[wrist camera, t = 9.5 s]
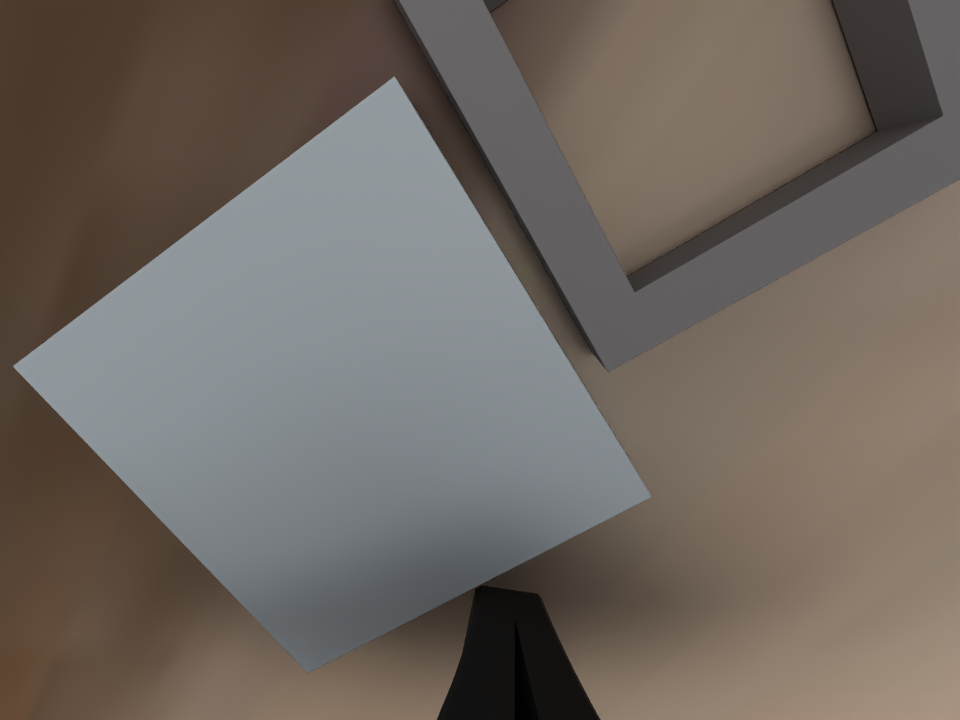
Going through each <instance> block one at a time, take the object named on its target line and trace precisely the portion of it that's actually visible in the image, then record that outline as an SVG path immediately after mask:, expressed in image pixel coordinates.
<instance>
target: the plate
mask: <svg viewBox="0 0 960 720" xmlns="http://www.w3.org/2000/svg"><path fill="white" fill-rule="evenodd" d="M13 367H14V368H15V369H16V370H17V371H18V372H19V373H20V374H21V375H22V376H23V377H24V378H25V379H26V381H27V382H28V383H29V384H30V385H31V386H32V387H33V388H34V389H35V390H36V391H37V392H38V393H39V394H40V395H41V396H42V397H43V398H44V399H45V400H46V401H47V402H48V403H49V404H50V405H51V407H52V408H53V409H54V410H55V411H56V412H57V413H58V414H59V415H60V416H61V417H62V418H63V419H64V420H65V421H66V422H67V423H68V424H69V425H70V426H71V427H72V428H73V429H74V430H75V432H76V433H77V434H78V435H79V436H80V437H81V438H82V439H83V440H84V441H85V442H86V443H87V444H88V445H89V446H90V447H91V448H92V449H93V450H94V451H95V452H96V453H97V454H98V455H99V457H100V458H101V459H102V460H103V461H104V462H105V463H106V464H107V465H108V466H109V467H110V468H111V469H112V470H113V471H114V472H115V473H116V474H117V475H118V476H119V477H120V478H121V479H122V480H123V481H124V483H125V484H126V485H127V486H128V487H129V488H130V489H131V490H132V491H133V492H134V493H135V494H136V495H137V496H138V497H139V498H140V499H141V500H142V501H143V502H144V503H145V504H146V505H147V506H148V508H149V509H150V510H151V511H152V512H153V513H154V514H155V515H156V516H157V517H158V518H159V519H160V520H161V521H162V522H163V523H164V524H165V525H166V526H167V527H168V528H169V529H170V530H171V531H172V532H173V534H174V535H175V536H176V537H177V538H178V539H179V540H180V541H181V542H182V543H183V544H184V545H185V546H186V547H187V548H188V549H189V550H190V551H191V552H192V553H193V554H194V555H195V556H196V557H197V559H198V560H199V561H200V562H201V563H202V564H203V565H204V566H205V567H206V568H207V569H208V570H209V571H210V572H211V573H212V574H213V575H214V576H215V577H216V578H217V579H218V580H219V581H220V582H221V584H222V585H223V586H224V587H225V588H226V589H227V590H228V591H229V592H230V593H231V594H232V595H233V596H234V597H235V598H236V599H237V600H238V601H239V602H240V603H241V604H242V605H243V606H244V607H245V608H246V610H247V611H248V612H249V613H250V614H251V615H252V616H253V617H254V618H255V619H256V620H257V621H258V622H259V623H260V624H261V625H262V626H263V627H264V628H265V629H266V630H267V631H268V632H269V633H270V635H271V636H272V637H273V638H274V639H275V640H276V641H277V642H278V643H279V644H280V645H281V646H282V647H283V648H284V649H285V650H286V651H287V652H288V653H289V654H290V655H291V656H292V657H293V658H294V659H295V661H296V662H297V663H298V664H299V665H300V666H301V667H302V668H303V669H304V670H305V671H306V672H307V673H309V672H311V671H313V670H315V669H317V668H319V667H321V666H323V665H325V664H327V663H328V662H330V661H332V660H334V659H336V658H338V657H340V656H342V655H344V654H346V653H348V652H350V651H352V650H354V649H356V648H358V647H360V646H362V645H364V644H366V643H368V642H369V641H371V640H373V639H375V638H377V637H379V636H381V635H383V634H385V633H387V632H389V631H391V630H393V629H395V628H397V627H399V626H401V625H403V624H405V623H407V622H409V621H410V620H412V619H414V618H416V617H418V616H420V615H422V614H424V613H426V612H428V611H430V610H432V609H434V608H436V607H438V606H440V605H442V604H444V603H446V602H448V601H450V600H451V599H453V598H455V597H457V596H459V595H461V594H463V593H465V592H467V591H469V590H471V589H473V588H475V587H477V586H479V585H481V584H483V583H485V582H487V581H489V580H490V579H492V578H494V577H496V576H498V575H500V574H502V573H504V572H506V571H508V570H510V569H512V568H514V567H516V566H518V565H520V564H522V563H524V562H526V561H528V560H530V559H531V558H533V557H535V556H537V555H539V554H541V553H543V552H545V551H547V550H549V549H551V548H553V547H555V546H557V545H559V544H561V543H563V542H565V541H567V540H569V539H571V538H572V537H574V536H576V535H578V534H580V533H582V532H584V531H586V530H588V529H590V528H592V527H594V526H596V525H598V524H600V523H602V522H604V521H606V520H608V519H610V518H612V517H613V516H615V515H617V514H619V513H621V512H623V511H625V510H627V509H629V508H631V507H633V506H635V505H637V504H639V503H641V502H643V501H645V500H647V499H649V498H651V497H652V496H651V495H650V493H649V491H648V489H647V488H646V486H645V484H644V483H643V481H642V479H641V478H640V476H639V474H638V473H637V471H636V469H635V468H634V466H633V464H632V463H631V461H630V459H629V457H628V456H627V454H626V453H625V451H624V449H623V448H622V446H621V444H620V443H619V441H618V439H617V438H616V436H615V435H614V433H613V431H612V430H611V428H610V426H609V425H608V423H607V421H606V420H605V418H604V417H603V415H602V413H601V412H600V410H599V408H598V407H597V405H596V403H595V402H594V400H593V399H592V397H591V395H590V394H589V392H588V390H587V389H586V387H585V385H584V384H583V382H582V381H581V379H580V377H579V376H578V374H577V372H576V371H575V369H574V367H573V366H572V364H571V363H570V361H569V359H568V358H567V356H566V354H565V353H564V351H563V350H562V348H561V346H560V345H559V343H558V341H557V340H556V338H555V336H554V335H553V333H552V332H551V330H550V328H549V327H548V325H547V323H546V322H545V320H544V318H543V317H542V315H541V314H540V312H539V310H538V309H537V307H536V305H535V304H534V302H533V300H532V299H531V297H530V296H529V294H528V292H527V291H526V289H525V287H524V286H523V284H522V282H521V281H520V279H519V278H518V276H517V274H516V273H515V271H514V269H513V268H512V266H511V264H510V263H509V261H508V260H507V258H506V256H505V255H504V253H503V251H502V250H501V248H500V246H499V245H498V243H497V242H496V240H495V238H494V237H493V235H492V233H491V232H490V230H489V229H488V227H487V225H486V224H485V222H484V220H483V219H482V217H481V215H480V214H479V212H478V211H477V209H476V207H475V206H474V204H473V202H472V201H471V199H470V197H469V196H468V194H467V193H466V191H465V189H464V188H463V186H462V184H461V183H460V181H459V179H458V178H457V176H456V175H455V173H454V171H453V170H452V168H451V166H450V165H449V163H448V161H447V160H446V158H445V157H444V155H443V153H442V152H441V150H440V148H439V147H438V145H437V143H436V142H435V140H434V139H433V137H432V135H431V134H430V132H429V130H428V129H427V127H426V125H425V124H424V122H423V121H422V119H421V117H420V116H419V114H418V112H417V111H416V109H415V108H414V106H413V104H412V103H411V101H410V100H409V98H408V96H407V95H406V93H405V92H404V90H403V89H402V87H401V86H400V84H399V83H398V81H397V79H396V78H395V76H394V77H393V78H392V79H391V80H389V81H388V82H387V83H385V84H384V85H383V86H381V87H380V88H379V89H377V90H376V91H375V92H373V93H372V94H371V95H369V96H368V97H367V98H366V99H364V100H363V101H362V102H360V103H359V104H358V105H356V106H355V107H354V108H352V109H351V110H350V111H348V112H347V113H346V114H344V115H343V116H342V117H341V118H339V119H338V120H337V121H335V122H334V123H333V124H331V125H330V126H329V127H327V128H326V129H325V130H323V131H322V132H321V133H319V134H318V135H317V136H315V137H314V138H313V139H312V140H310V141H309V142H308V143H306V144H305V145H304V146H302V147H301V148H300V149H298V150H297V151H296V152H294V153H293V154H292V155H290V156H289V157H288V158H287V159H285V160H284V161H283V162H281V163H280V164H279V165H277V166H276V167H275V168H273V169H272V170H271V171H269V172H268V173H267V174H265V175H264V176H263V177H262V178H260V179H259V180H258V181H256V182H255V183H254V184H252V185H251V186H250V187H248V188H247V189H246V190H244V191H243V192H242V193H240V194H239V195H238V196H237V197H235V198H234V199H233V200H231V201H230V202H229V203H227V204H226V205H225V206H223V207H222V208H221V209H219V210H218V211H217V212H215V213H214V214H213V215H211V216H210V217H209V218H208V219H206V220H205V221H204V222H202V223H201V224H200V225H198V226H197V227H196V228H194V229H193V230H192V231H190V232H189V233H188V234H186V235H185V236H184V237H183V238H181V239H180V240H179V241H177V242H176V243H175V244H173V245H172V246H171V247H169V248H168V249H167V250H165V251H164V252H163V253H161V254H160V255H159V256H158V257H156V258H155V259H154V260H152V261H151V262H150V263H148V264H147V265H146V266H144V267H143V268H142V269H140V270H139V271H138V272H136V273H135V274H134V275H132V276H131V277H130V278H129V279H127V280H126V281H125V282H123V283H122V284H121V285H119V286H118V287H117V288H115V289H114V290H113V291H111V292H110V293H109V294H107V295H106V296H105V297H104V298H102V299H101V300H100V301H98V302H97V303H96V304H94V305H93V306H92V307H90V308H89V309H88V310H86V311H85V312H84V313H82V314H81V315H80V316H79V317H77V318H76V319H75V320H73V321H72V322H71V323H69V324H68V325H67V326H65V327H64V328H63V329H61V330H60V331H59V332H57V333H56V334H55V335H53V336H52V337H51V338H50V339H48V340H47V341H46V342H44V343H43V344H42V345H40V346H39V347H38V348H36V349H35V350H34V351H32V352H31V353H30V354H28V355H27V356H26V357H25V358H23V359H22V360H21V361H19V362H18V363H17V364H15V365H14V366H13Z"/></svg>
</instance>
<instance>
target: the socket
mask: <svg viewBox="0 0 960 720" xmlns="http://www.w3.org/2000/svg"><path fill="white" fill-rule="evenodd" d="M505 1H506V0H394V2H395V3H396V5H397V7H398V9H399V10H400V12H401V14H402V16H403V18H404V19H405V21H406V23H407V25H408V26H409V28H410V30H411V32H412V34H413V35H414V37H415V39H416V41H417V42H418V44H419V46H420V48H421V49H422V51H423V53H424V55H425V57H426V58H427V60H428V62H429V64H430V65H431V67H432V69H433V71H434V72H435V74H436V76H437V78H438V80H439V81H440V83H441V85H442V87H443V88H444V90H445V92H446V94H447V96H448V97H449V99H450V101H451V103H452V104H453V106H454V108H455V110H456V111H457V113H458V115H459V117H460V119H461V120H462V122H463V124H464V126H465V127H466V129H467V131H468V133H469V135H470V136H471V138H472V140H473V142H474V143H475V145H476V147H477V149H478V150H479V152H480V154H481V156H482V158H483V159H484V161H485V163H486V165H487V166H488V168H489V170H490V172H491V174H492V175H493V177H494V179H495V181H496V182H497V184H498V186H499V188H500V189H501V191H502V193H503V195H504V197H505V198H506V200H507V202H508V204H509V205H510V207H511V209H512V211H513V213H514V214H515V216H516V218H517V220H518V221H519V223H520V225H521V227H522V228H523V230H524V232H525V234H526V236H527V237H528V239H529V241H530V243H531V244H532V246H533V248H534V250H535V252H536V253H537V255H538V257H539V259H540V260H541V262H542V264H543V266H544V267H545V269H546V271H547V273H548V275H549V276H550V278H551V280H552V282H553V283H554V285H555V287H556V289H557V291H558V292H559V294H560V296H561V298H562V299H563V301H564V303H565V305H566V306H567V308H568V310H569V312H570V314H571V315H572V317H573V319H574V321H575V322H576V324H577V326H578V328H579V330H580V331H581V333H582V335H583V337H584V338H585V340H586V342H587V344H588V345H589V347H590V349H591V351H592V353H593V354H594V355H595V357H596V358H597V359H598V360H599V361H600V363H601V364H602V365H603V366H604V368H605V369H606V370H607V371H608V372H609V371H611V370H613V369H614V368H616V367H618V366H620V365H622V364H623V363H625V362H627V361H629V360H631V359H633V358H634V357H636V356H638V355H640V354H642V353H644V352H645V351H647V350H649V349H651V348H653V347H654V346H656V345H658V344H660V343H662V342H664V341H665V340H667V339H669V338H671V337H673V336H675V335H676V334H678V333H680V332H682V331H684V330H685V329H687V328H689V327H691V326H693V325H695V324H696V323H698V322H700V321H702V320H704V319H706V318H707V317H709V316H711V315H713V314H715V313H716V312H718V311H720V310H722V309H724V308H726V307H727V306H729V305H731V304H733V303H735V302H737V301H738V300H740V299H742V298H744V297H746V296H747V295H749V294H751V293H753V292H755V291H757V290H758V289H760V288H762V287H764V286H766V285H768V284H769V283H771V282H773V281H775V280H777V279H779V278H780V277H782V276H784V275H786V274H788V273H789V272H791V271H793V270H795V269H797V268H799V267H800V266H802V265H804V264H806V263H808V262H810V261H811V260H813V259H815V258H817V257H819V256H820V255H822V254H824V253H826V252H828V251H830V250H831V249H833V248H835V247H837V246H839V245H841V244H842V243H844V242H846V241H848V240H850V239H851V238H853V237H855V236H857V235H859V234H861V233H862V232H864V231H866V230H868V229H870V228H872V227H873V226H875V225H877V224H879V223H881V222H882V221H884V220H886V219H888V218H890V217H892V216H893V215H895V214H897V213H899V212H901V211H903V210H904V209H906V208H908V207H910V206H912V205H913V204H915V203H917V202H919V201H921V200H923V199H924V198H926V197H928V196H930V195H932V194H934V193H935V192H937V191H939V190H941V189H943V188H944V187H946V186H948V185H950V184H952V183H954V182H955V181H957V180H959V179H960V0H833V3H834V6H835V9H836V12H837V15H838V18H839V21H840V23H841V26H842V29H843V32H844V35H845V38H846V41H847V44H848V47H849V50H850V53H851V55H852V58H853V61H854V64H855V67H856V70H857V73H858V76H859V79H860V82H861V84H862V87H863V90H864V93H865V96H866V99H867V102H868V105H869V108H870V111H871V114H872V116H873V119H874V122H875V125H876V128H877V132H875V133H874V134H872V135H870V136H868V137H867V138H865V139H863V140H861V141H860V142H858V143H856V144H855V145H853V146H851V147H849V148H848V149H846V150H844V151H843V152H841V153H839V154H837V155H836V156H834V157H832V158H830V159H829V160H827V161H825V162H824V163H822V164H820V165H818V166H817V167H815V168H813V169H812V170H810V171H808V172H806V173H805V174H803V175H801V176H800V177H798V178H796V179H794V180H793V181H791V182H789V183H787V184H786V185H784V186H782V187H781V188H779V189H777V190H775V191H774V192H772V193H770V194H769V195H767V196H765V197H763V198H762V199H760V200H758V201H756V202H755V203H753V204H751V205H750V206H748V207H746V208H744V209H743V210H741V211H739V212H738V213H736V214H734V215H732V216H731V217H729V218H727V219H726V220H724V221H722V222H720V223H719V224H717V225H715V226H713V227H712V228H710V229H708V230H707V231H705V232H703V233H701V234H700V235H698V236H696V237H695V238H693V239H691V240H689V241H688V242H686V243H684V244H682V245H681V246H679V247H677V248H676V249H674V250H672V251H670V252H669V253H667V254H665V255H664V256H662V257H660V258H658V259H657V260H655V261H653V262H651V263H650V264H648V265H646V266H645V267H643V268H641V269H639V270H638V271H636V272H634V273H633V274H631V275H629V276H627V277H626V275H625V273H624V271H623V269H622V267H621V265H620V263H619V261H618V259H617V257H616V255H615V254H614V252H613V250H612V248H611V246H610V244H609V242H608V240H607V238H606V236H605V234H604V232H603V230H602V228H601V227H600V225H599V223H598V221H597V219H596V217H595V215H594V213H593V211H592V209H591V207H590V205H589V203H588V202H587V200H586V198H585V196H584V194H583V192H582V190H581V188H580V186H579V184H578V182H577V180H576V178H575V177H574V175H573V173H572V171H571V169H570V167H569V165H568V163H567V161H566V159H565V157H564V155H563V153H562V151H561V150H560V148H559V146H558V144H557V142H556V140H555V138H554V136H553V134H552V132H551V130H550V128H549V126H548V125H547V123H546V121H545V119H544V117H543V115H542V113H541V111H540V109H539V107H538V105H537V103H536V101H535V100H534V98H533V96H532V94H531V92H530V90H529V88H528V86H527V84H526V82H525V80H524V78H523V76H522V74H521V73H520V71H519V69H518V67H517V65H516V63H515V61H514V59H513V57H512V55H511V53H510V51H509V49H508V48H507V46H506V44H505V42H504V40H503V38H502V36H501V34H500V32H499V30H498V28H497V26H496V24H495V22H494V21H493V19H492V17H491V15H490V12H491V11H493V10H494V9H495V8H497V7H498V6H500V5H501V4H502V3H504V2H505Z"/></svg>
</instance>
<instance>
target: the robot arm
mask: <svg viewBox="0 0 960 720" xmlns="http://www.w3.org/2000/svg"><path fill="white" fill-rule="evenodd" d="M437 720H600V718H599V716H598V715H597V713H596V711H595V709H594V707H593V706H592V704H591V702H590V700H589V698H588V696H587V694H586V692H585V690H584V688H583V686H582V685H581V683H580V681H579V679H578V677H577V675H576V673H575V671H574V669H573V667H572V665H571V663H570V661H569V659H568V657H567V655H566V653H565V651H564V648H563V646H562V644H561V642H560V640H559V638H558V636H557V633H556V631H555V629H554V627H553V625H552V622H551V620H550V618H549V615H548V613H547V611H546V608H545V606H544V603H543V601H542V599H541V597H540V596H539V595H538V594H535V593H528V592H522V591H515V590H508V589H502V588H495V587H488V586H480V587H478V588H476V589H475V593H474V598H473V603H472V608H471V613H470V618H469V623H468V628H467V633H466V638H465V643H464V648H463V653H462V656H461V659H460V662H459V665H458V668H457V671H456V674H455V676H454V679H453V682H452V684H451V687H450V689H449V691H448V694H447V696H446V699H445V701H444V704H443V706H442V708H441V711H440V713H439V716H438V718H437Z"/></svg>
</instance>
